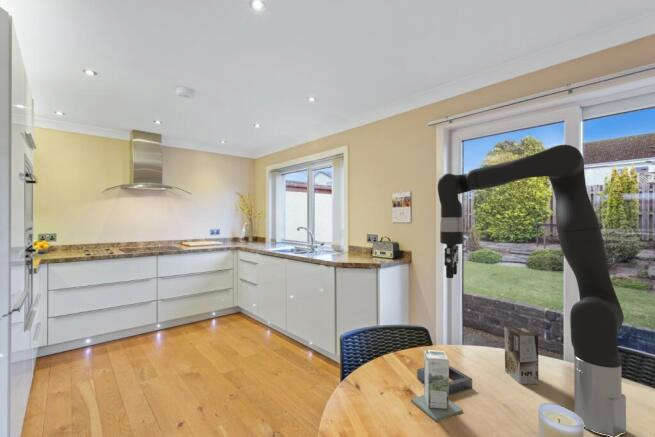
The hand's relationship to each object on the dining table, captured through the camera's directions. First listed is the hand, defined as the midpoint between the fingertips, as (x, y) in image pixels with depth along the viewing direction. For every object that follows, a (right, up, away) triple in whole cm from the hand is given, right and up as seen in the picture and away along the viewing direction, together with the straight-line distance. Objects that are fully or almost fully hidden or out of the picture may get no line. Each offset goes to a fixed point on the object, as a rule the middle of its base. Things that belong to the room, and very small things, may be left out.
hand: (451, 276), depth 106 cm
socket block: (-6, -34, -7) cm, 35 cm away
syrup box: (-13, -34, -19) cm, 41 cm away
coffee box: (+22, -34, -4) cm, 41 cm away
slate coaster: (-13, -34, -20) cm, 41 cm away
